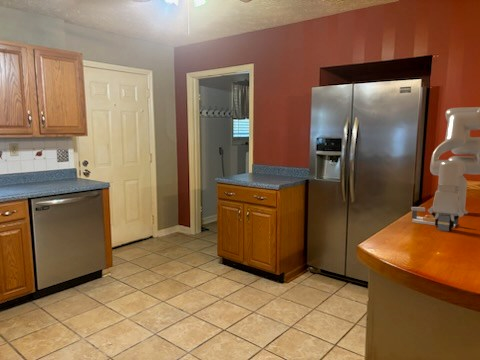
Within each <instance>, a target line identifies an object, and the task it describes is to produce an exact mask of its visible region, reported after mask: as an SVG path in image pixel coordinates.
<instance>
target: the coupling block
mask: <svg viewBox="0 0 480 360" xmlns="http://www.w3.org/2000/svg"><path fill="white" fill-rule="evenodd" d="M450 220H451V216H450V214H443V213H440V214H439V216H438V228H437V229H436V230H437V231H440V232H443V231H444V232H448V233H449V232H450V231H451V230H450V229H449V226H450Z"/></svg>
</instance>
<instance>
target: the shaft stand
mask: <svg viewBox="0 0 480 360" xmlns="http://www.w3.org/2000/svg"><path fill="white" fill-rule="evenodd" d="M411 211H412V212H411V213H412V215H411V219H412V221H411V222H412V223H416V224H422V225H423V224H424V225H429V226H436V225H435V218H434V216H433V215H432V214H425V215H424V216H418V212H426V207H419V206H411ZM458 214H459V212H458V213H457V214H455V215H454V216H456V215H458ZM459 219H460V217H459V218H457V219H456V220H454V227H453V228H452V229H455V228H456V227H457V225H458V224H459Z"/></svg>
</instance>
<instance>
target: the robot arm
mask: <svg viewBox="0 0 480 360" xmlns="http://www.w3.org/2000/svg"><path fill="white" fill-rule="evenodd" d="M445 119H446V121H447V126H446V132H445V138H444V140H443V141H442V142H441V143H440V144H439V145H438V146H436V148H434V151H433V152H432V155H431V159H430V164H429V165H430V166H429V170H430V171H429V172H430V173H431V174H432V175H433V176H438V181H437V183H438V184H437V190H436V191H435V193H434V196H433V197H434V198H433V202H432V205H431V206H430V208H428V209H427V212H428V213H429V214H430V215H431V216H434V218H435V225H436V228H438V216H439V214H440V213H443V214H450V216H451V220H450V226H449V229H450V230H449V231H451V230H452V229H454V228H453V227H454V220H456V219H457V218H459V219H460V218H461V217H463V216H464V215H468V214H469V211H467V210H466V201H467V200H466V199H467V188H468V180H467V179H466V177H464V175H480V136H477V137H476V136H473V137H472V136H471V131H479V130H480V107H479V106H476V107H473V106H472V107H452V108H448V109H447V110H446V111H445ZM450 151H451V153H452V154H454V155H453V156H450V157H449V158H448V159H439V158H440V156H441V155H443V154H445V153H446V152H447V153H448V152H450ZM458 212H459V214H458V215H456V216H454V215H455V214H457V213H458ZM435 225H434V226H435Z"/></svg>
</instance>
